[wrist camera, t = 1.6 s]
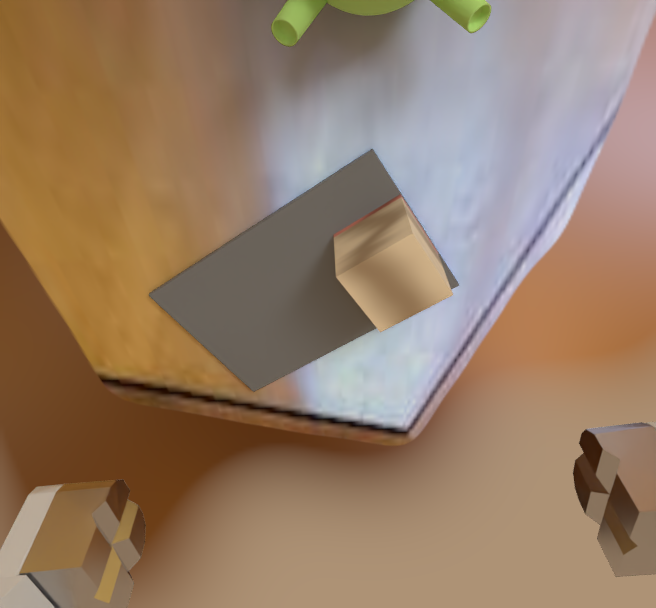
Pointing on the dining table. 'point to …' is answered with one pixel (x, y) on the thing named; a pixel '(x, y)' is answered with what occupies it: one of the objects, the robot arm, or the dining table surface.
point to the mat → (282, 281)
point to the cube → (389, 265)
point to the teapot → (305, 4)
